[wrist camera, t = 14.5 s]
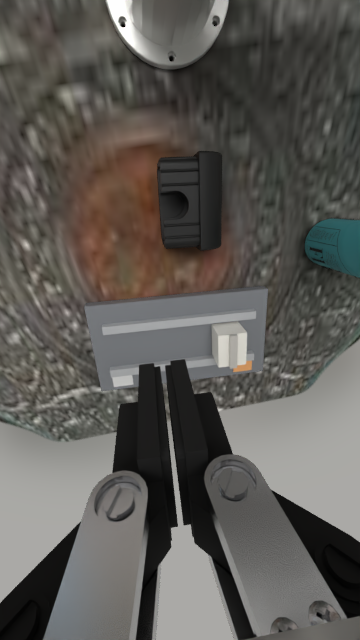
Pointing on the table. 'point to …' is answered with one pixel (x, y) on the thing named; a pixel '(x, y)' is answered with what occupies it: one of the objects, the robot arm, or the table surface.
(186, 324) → the breaker panel
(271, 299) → the table surface
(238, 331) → the knob
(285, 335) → the table surface
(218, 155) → the end cap
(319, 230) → the beverage bottle
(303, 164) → the table surface
